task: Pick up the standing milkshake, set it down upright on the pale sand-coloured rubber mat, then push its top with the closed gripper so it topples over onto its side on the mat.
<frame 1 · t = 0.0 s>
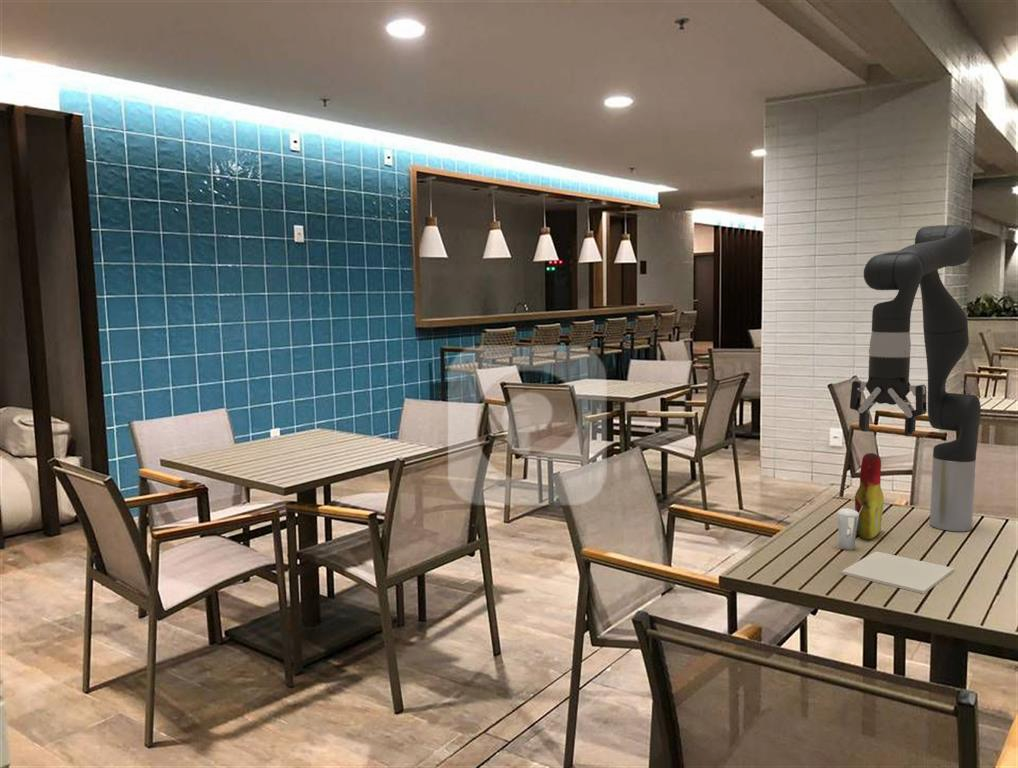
hand: (886, 433, 164), 29 cm above the table, fingers open, 8 cm apart
bottle: (867, 535, 192), on the table
milkshake: (848, 548, 183), on the table
mat: (898, 572, 166), on the table
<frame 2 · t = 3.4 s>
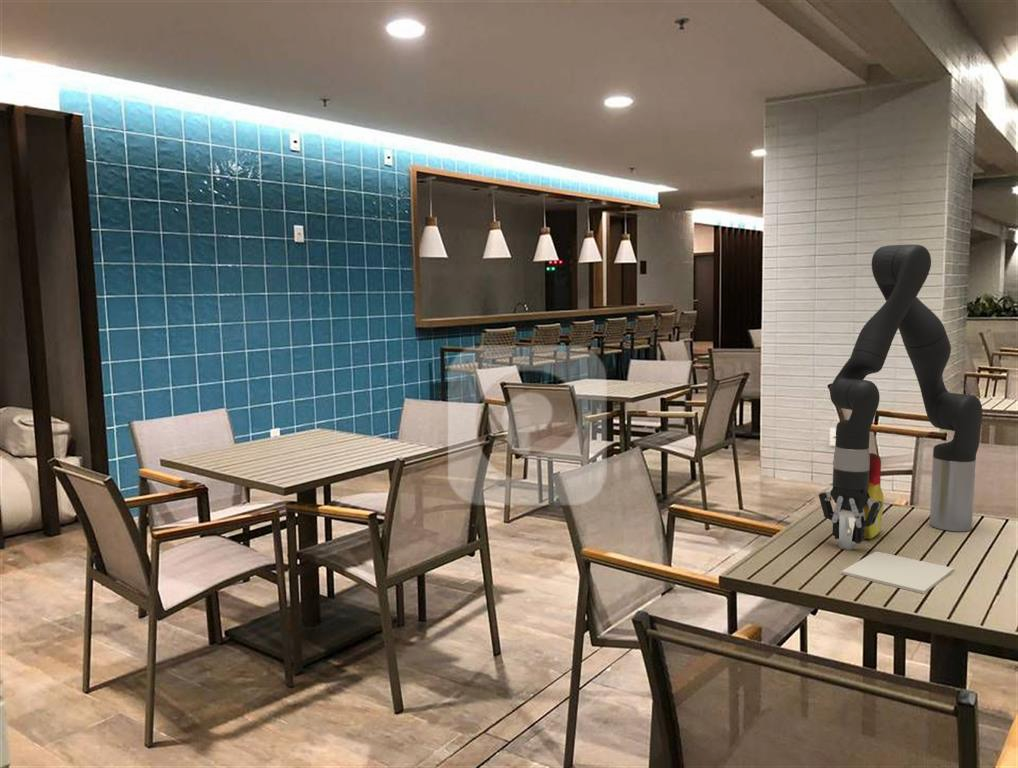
hand: (847, 540, 182), 2 cm above the table, fingers closed on milkshake, 4 cm apart
milkshake: (848, 548, 183), on the table, touching gripper
everything else where it was.
when the fingers open (4 cm above the table, at t = 8.4 s): milkshake drops 1 cm, resting on mat.
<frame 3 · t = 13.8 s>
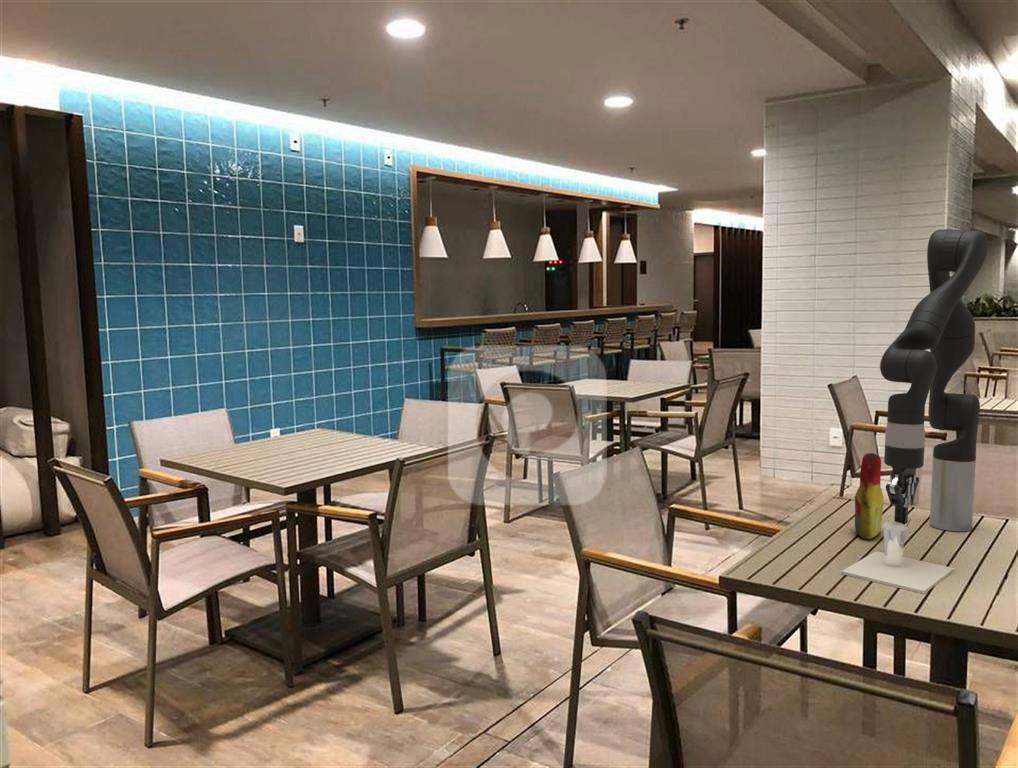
hand: (900, 523, 171), 9 cm above the table, fingers closed
milkshake: (895, 564, 170), resting on mat, touching gripper
everything else where it was.
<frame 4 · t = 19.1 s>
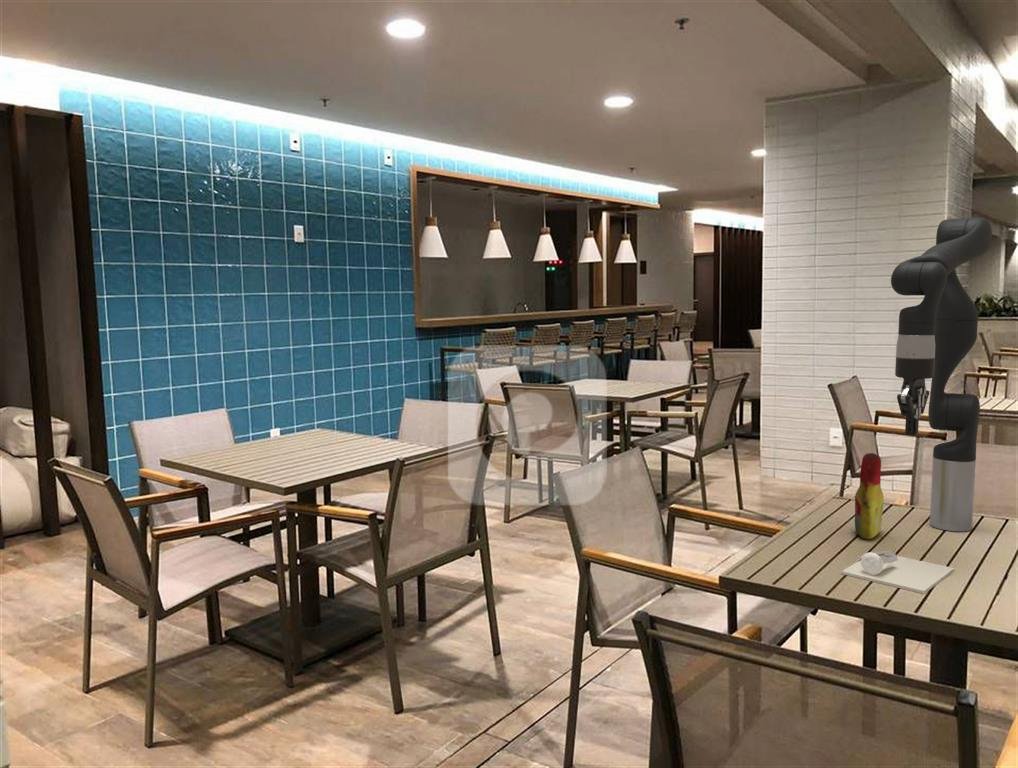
hand: (911, 434, 175), 27 cm above the table, fingers closed
milkshake: (892, 557, 168), point 2 cm above the table, touching mat
everything else where it was.
at the end: milkshake tilted 85°; milkshake inside the target area on the mat (2.7 cm from its centre), point 2.4 cm above the mat's base; the gripper is holding nothing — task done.
